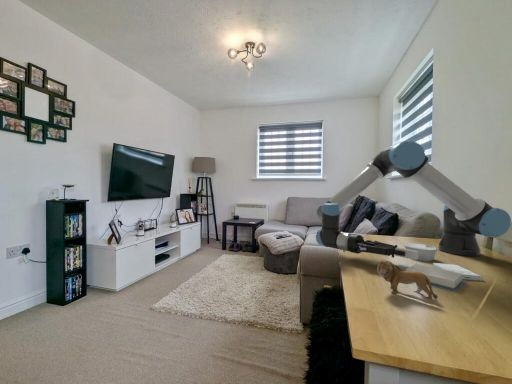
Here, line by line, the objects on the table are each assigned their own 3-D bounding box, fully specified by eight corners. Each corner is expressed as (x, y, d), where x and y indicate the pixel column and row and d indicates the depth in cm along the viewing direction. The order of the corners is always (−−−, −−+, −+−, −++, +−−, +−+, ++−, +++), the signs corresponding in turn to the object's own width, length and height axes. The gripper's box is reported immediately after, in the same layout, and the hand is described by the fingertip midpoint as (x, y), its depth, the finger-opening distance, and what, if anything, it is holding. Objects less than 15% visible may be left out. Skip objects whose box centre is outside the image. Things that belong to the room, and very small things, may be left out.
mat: (398, 266, 90) (398, 264, 90) (468, 282, 75) (468, 281, 75) (382, 274, 82) (382, 272, 82) (457, 294, 66) (457, 293, 66)
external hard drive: (457, 269, 88) (482, 281, 75) (432, 267, 89) (453, 278, 77) (457, 264, 88) (482, 275, 75) (432, 262, 89) (453, 273, 77)
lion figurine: (377, 293, 66) (378, 261, 66) (375, 286, 71) (375, 256, 71) (441, 302, 62) (441, 268, 61) (433, 294, 67) (433, 262, 66)
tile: (416, 263, 84) (462, 273, 75) (416, 270, 84) (462, 281, 75) (405, 269, 78) (454, 281, 68) (405, 276, 78) (454, 289, 68)
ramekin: (443, 262, 96) (443, 249, 96) (415, 262, 96) (415, 249, 96) (424, 255, 107) (424, 243, 107) (399, 254, 107) (399, 242, 107)
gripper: (358, 249, 102) (423, 262, 84) (342, 254, 94) (409, 270, 76) (358, 231, 102) (423, 241, 84) (342, 235, 94) (410, 247, 75)
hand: (417, 255), depth 80 cm, fingers closed
